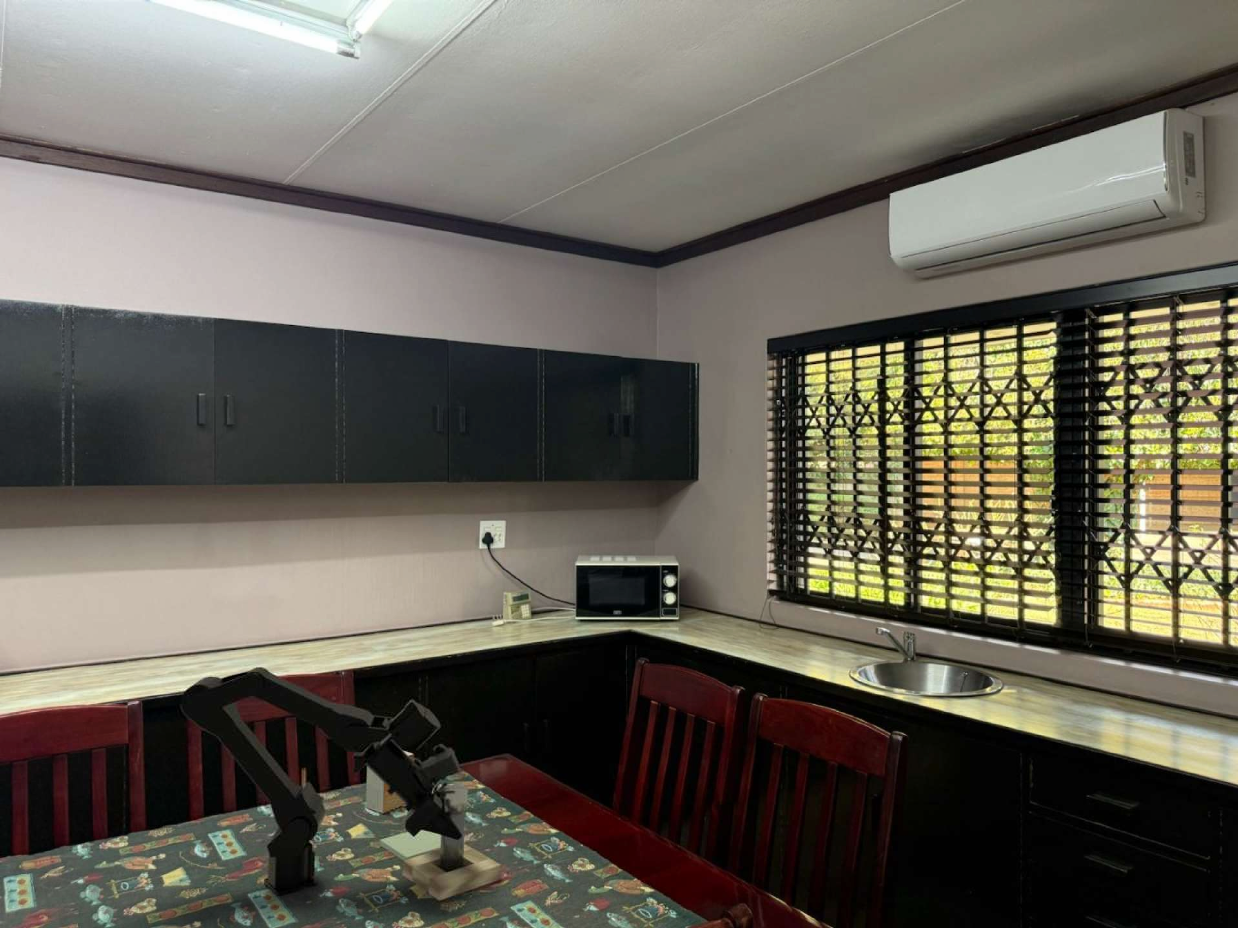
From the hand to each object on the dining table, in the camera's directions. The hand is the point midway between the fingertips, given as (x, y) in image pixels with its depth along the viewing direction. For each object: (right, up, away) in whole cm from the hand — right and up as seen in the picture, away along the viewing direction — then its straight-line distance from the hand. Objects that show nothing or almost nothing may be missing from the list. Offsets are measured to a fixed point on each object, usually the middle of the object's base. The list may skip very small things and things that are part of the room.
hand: (460, 832), depth 154 cm
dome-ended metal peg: (-2, -8, 0) cm, 8 cm away
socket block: (-2, -8, 0) cm, 8 cm away
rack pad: (-10, -8, +12) cm, 17 cm away
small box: (-21, -8, +32) cm, 39 cm away
